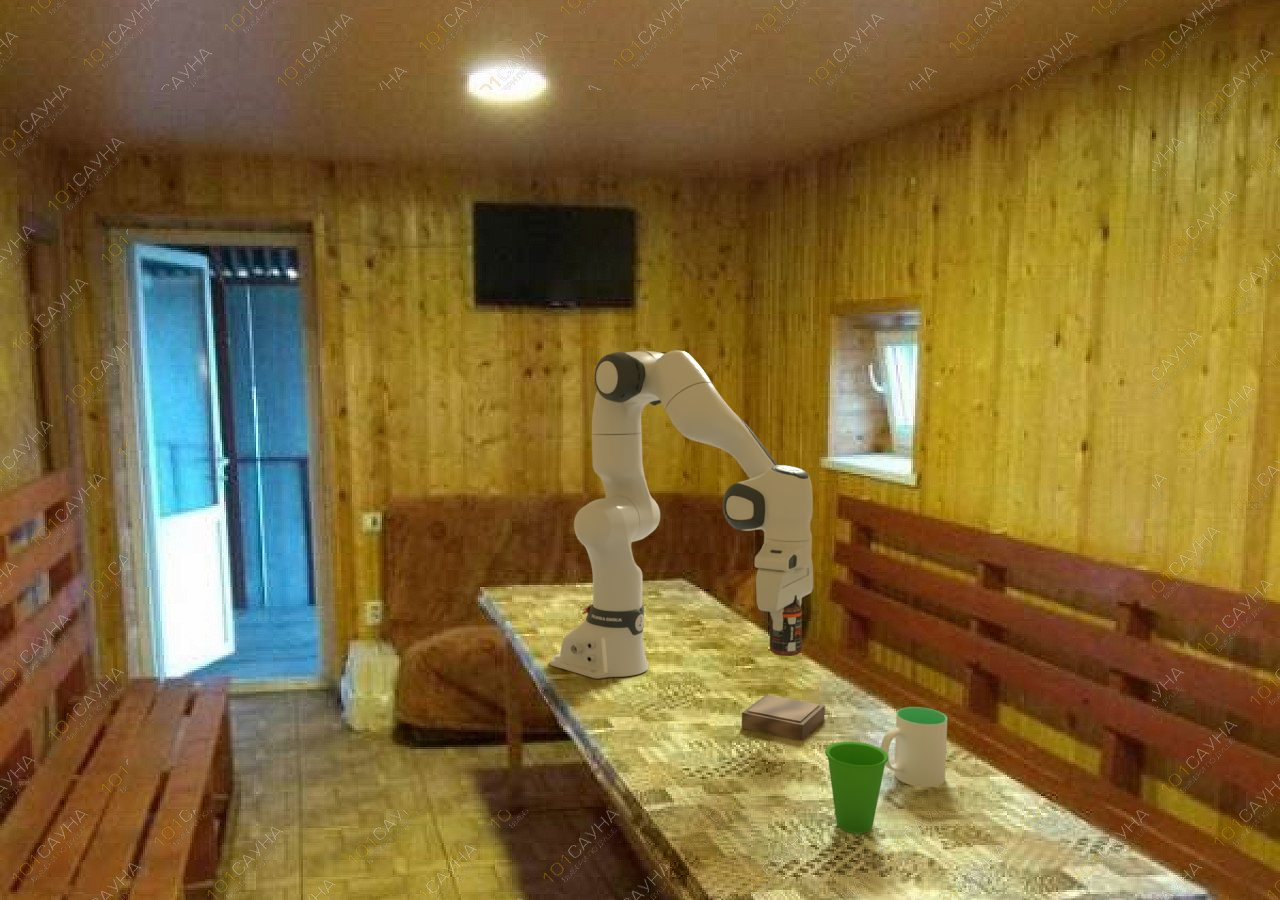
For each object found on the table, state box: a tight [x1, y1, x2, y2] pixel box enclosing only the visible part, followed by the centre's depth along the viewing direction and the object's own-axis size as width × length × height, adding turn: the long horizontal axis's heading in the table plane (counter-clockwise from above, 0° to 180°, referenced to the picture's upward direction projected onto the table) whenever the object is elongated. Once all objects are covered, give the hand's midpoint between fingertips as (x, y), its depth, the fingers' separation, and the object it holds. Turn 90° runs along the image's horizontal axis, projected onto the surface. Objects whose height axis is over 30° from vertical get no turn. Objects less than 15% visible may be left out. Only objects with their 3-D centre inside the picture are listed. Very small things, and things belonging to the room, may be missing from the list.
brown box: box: [741, 694, 826, 742], centre depth 181 cm, size 12×12×3 cm
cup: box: [824, 741, 889, 834], centre depth 140 cm, size 9×9×11 cm
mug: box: [880, 706, 948, 788], centre depth 156 cm, size 12×8×10 cm, turn 120°
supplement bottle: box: [769, 595, 803, 657], centre depth 179 cm, size 6×6×11 cm
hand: (785, 625), depth 179 cm, fingers closed on supplement bottle, 6 cm apart
